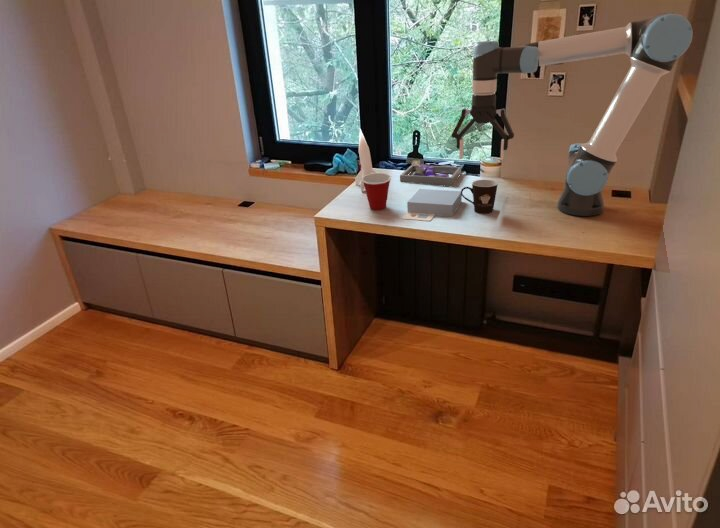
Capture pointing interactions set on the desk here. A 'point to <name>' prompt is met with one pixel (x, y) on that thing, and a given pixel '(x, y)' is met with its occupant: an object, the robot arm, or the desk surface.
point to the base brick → (434, 202)
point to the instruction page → (418, 216)
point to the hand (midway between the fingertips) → (481, 158)
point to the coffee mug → (483, 195)
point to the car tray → (432, 179)
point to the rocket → (364, 161)
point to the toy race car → (428, 171)
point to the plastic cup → (377, 189)
